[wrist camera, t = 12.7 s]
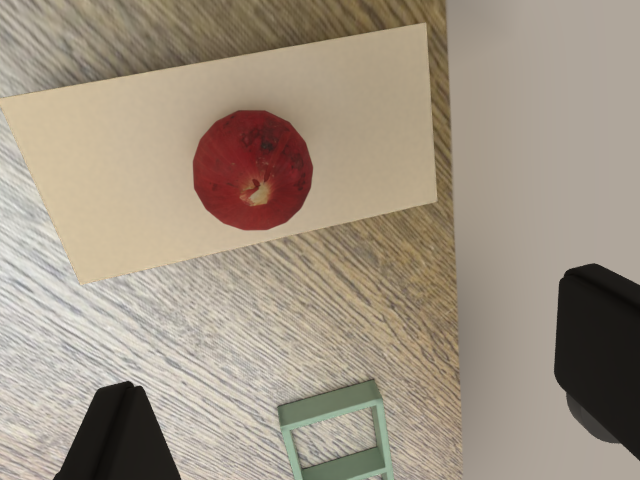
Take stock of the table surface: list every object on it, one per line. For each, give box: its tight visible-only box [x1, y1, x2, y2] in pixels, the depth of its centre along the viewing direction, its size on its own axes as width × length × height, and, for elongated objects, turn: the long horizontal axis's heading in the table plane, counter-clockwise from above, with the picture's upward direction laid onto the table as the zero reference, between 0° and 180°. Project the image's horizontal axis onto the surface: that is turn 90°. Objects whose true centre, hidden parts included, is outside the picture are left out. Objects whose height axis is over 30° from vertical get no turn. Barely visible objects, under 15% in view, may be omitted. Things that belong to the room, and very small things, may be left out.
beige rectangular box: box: [0, 23, 437, 285], centre depth 27 cm, size 23×11×6 cm, turn 100°
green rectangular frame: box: [277, 380, 394, 480], centre depth 42 cm, size 9×18×2 cm, turn 10°
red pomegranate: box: [193, 110, 313, 231], centre depth 20 cm, size 6×6×8 cm
